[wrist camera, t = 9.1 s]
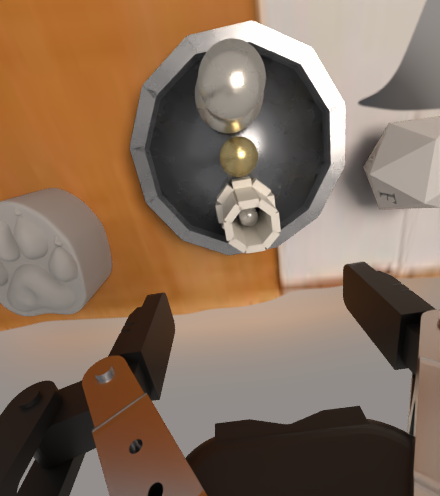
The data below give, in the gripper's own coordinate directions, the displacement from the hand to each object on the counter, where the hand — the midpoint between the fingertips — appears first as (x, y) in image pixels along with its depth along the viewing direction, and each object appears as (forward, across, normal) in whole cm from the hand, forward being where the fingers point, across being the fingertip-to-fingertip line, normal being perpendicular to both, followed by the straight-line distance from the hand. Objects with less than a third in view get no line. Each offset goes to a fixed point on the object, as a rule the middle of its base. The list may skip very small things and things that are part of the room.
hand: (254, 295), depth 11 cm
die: (+21, -18, -1) cm, 28 cm away
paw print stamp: (+21, +22, +1) cm, 30 cm away
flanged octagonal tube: (+19, -1, +1) cm, 19 cm away
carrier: (+20, -1, -5) cm, 21 cm away
